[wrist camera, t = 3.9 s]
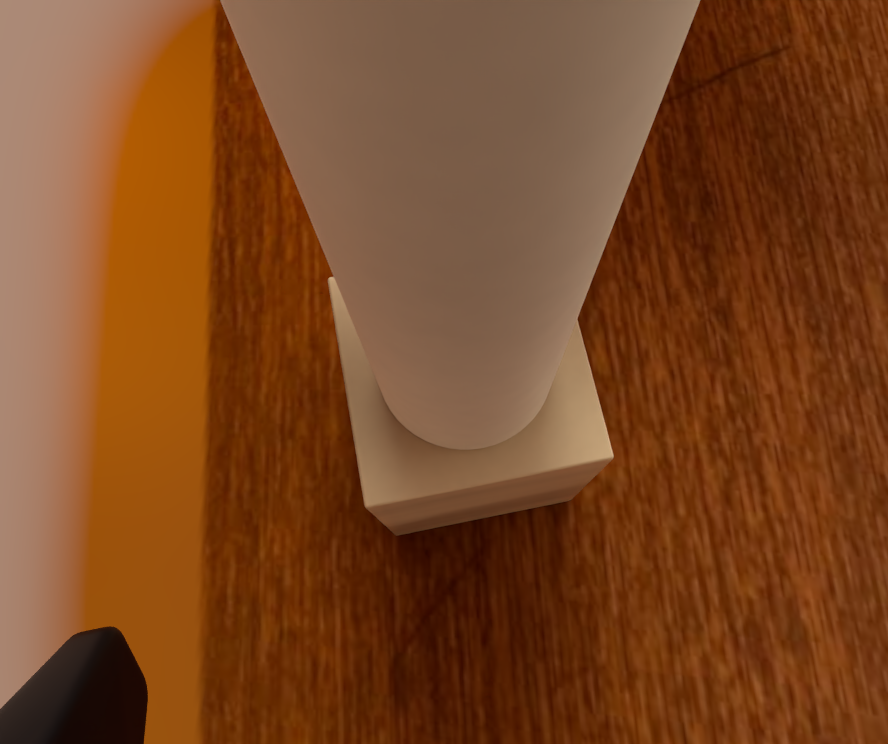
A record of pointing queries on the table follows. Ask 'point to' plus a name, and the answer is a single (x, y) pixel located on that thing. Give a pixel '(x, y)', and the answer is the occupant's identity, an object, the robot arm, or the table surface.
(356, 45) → the red-lidded canister
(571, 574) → the table surface
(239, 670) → the table surface
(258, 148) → the table surface
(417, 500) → the beige block
